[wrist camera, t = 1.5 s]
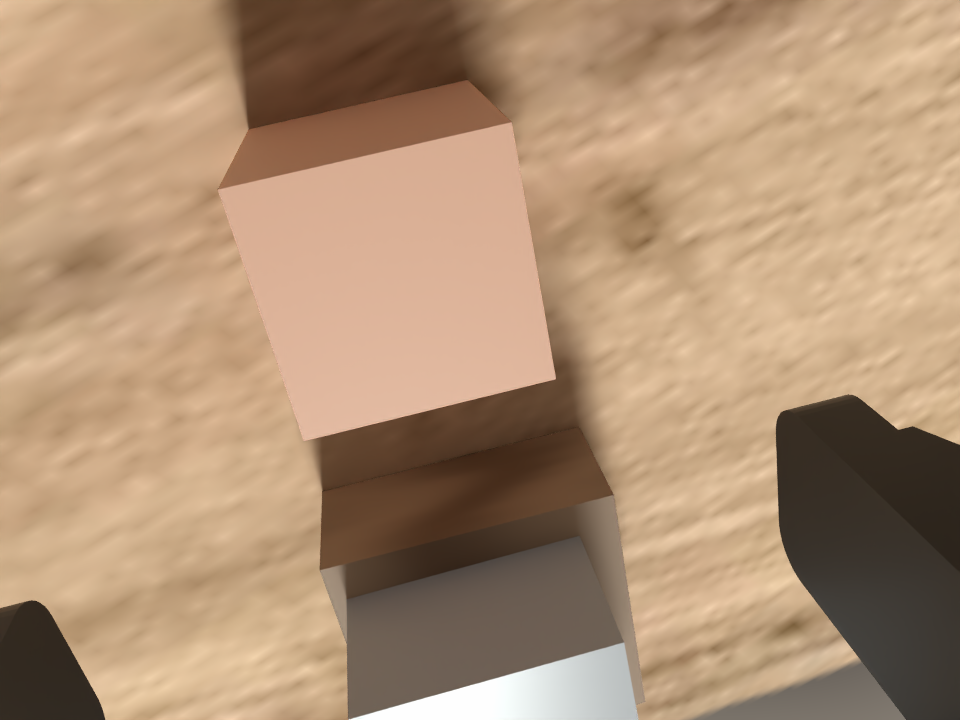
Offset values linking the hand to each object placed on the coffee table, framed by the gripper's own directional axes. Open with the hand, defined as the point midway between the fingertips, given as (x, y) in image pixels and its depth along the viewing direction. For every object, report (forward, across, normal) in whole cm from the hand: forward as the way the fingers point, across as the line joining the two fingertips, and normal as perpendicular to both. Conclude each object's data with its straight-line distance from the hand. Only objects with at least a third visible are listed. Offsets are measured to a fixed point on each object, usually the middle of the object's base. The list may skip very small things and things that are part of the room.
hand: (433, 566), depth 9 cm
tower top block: (+11, 0, +12) cm, 16 cm away
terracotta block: (+14, 0, 0) cm, 14 cm away
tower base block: (+15, 0, +12) cm, 19 cm away
